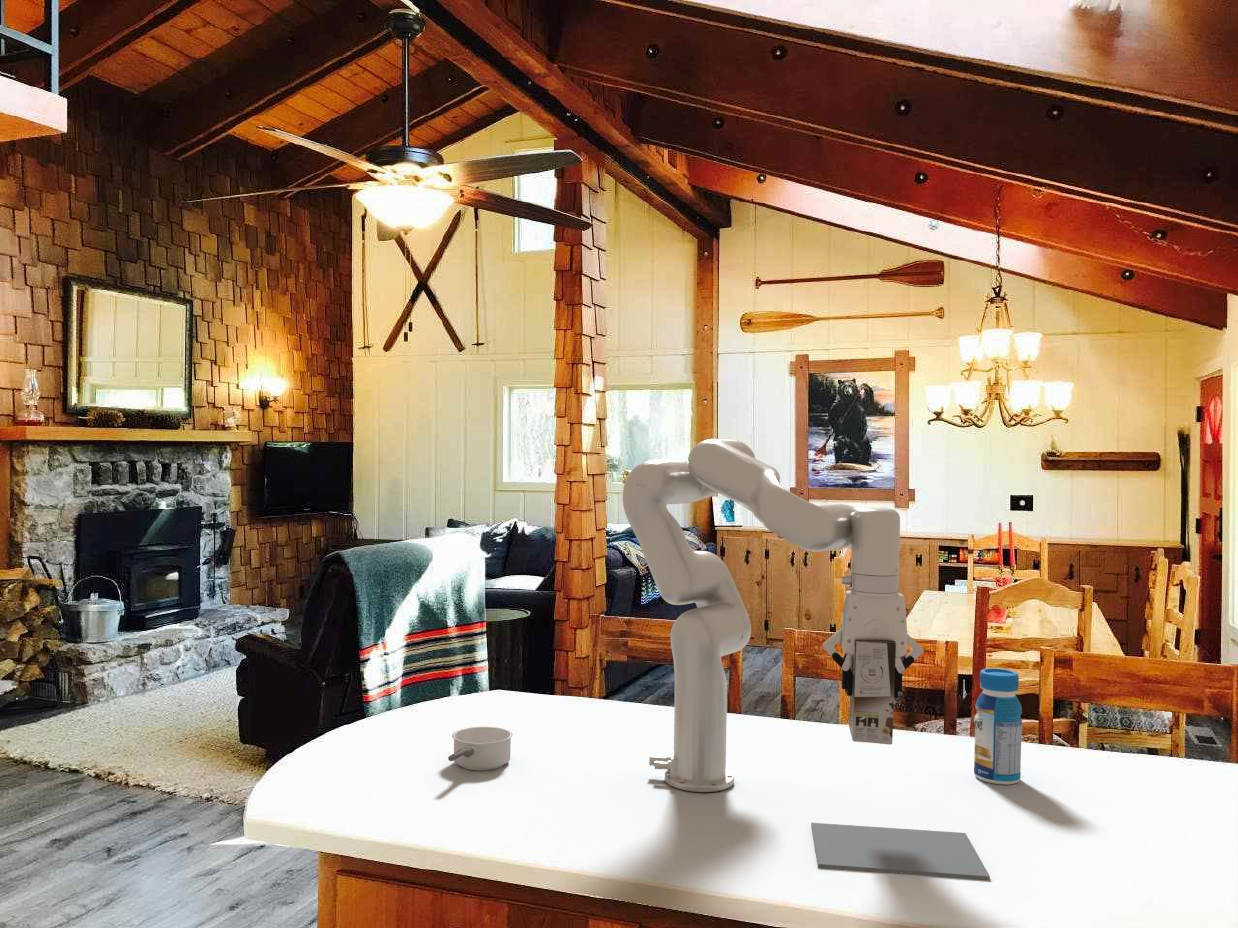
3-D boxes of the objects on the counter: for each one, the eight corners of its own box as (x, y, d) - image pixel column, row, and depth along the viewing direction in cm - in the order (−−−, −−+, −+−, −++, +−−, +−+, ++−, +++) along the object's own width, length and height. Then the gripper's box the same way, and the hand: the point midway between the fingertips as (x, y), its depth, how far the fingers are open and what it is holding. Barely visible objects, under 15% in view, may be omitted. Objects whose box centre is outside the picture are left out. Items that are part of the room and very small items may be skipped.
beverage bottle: (1016, 789, 177) (1019, 679, 177) (968, 780, 181) (970, 672, 181) (1025, 776, 184) (1027, 670, 184) (978, 767, 189) (980, 664, 188)
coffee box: (894, 745, 153) (897, 642, 153) (851, 742, 154) (854, 640, 154) (887, 728, 162) (890, 632, 162) (847, 726, 163) (850, 629, 163)
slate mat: (817, 867, 142) (818, 863, 142) (811, 825, 158) (811, 822, 158) (989, 879, 139) (989, 876, 139) (965, 835, 155) (965, 832, 155)
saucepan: (420, 784, 174) (421, 753, 174) (466, 751, 193) (466, 723, 193) (480, 791, 171) (481, 759, 171) (521, 757, 191) (521, 728, 190)
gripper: (822, 585, 155) (819, 698, 155) (934, 589, 153) (931, 703, 153) (817, 579, 162) (814, 686, 162) (924, 583, 160) (921, 691, 161)
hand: (871, 693), depth 158 cm, fingers closed on coffee box, 6 cm apart
